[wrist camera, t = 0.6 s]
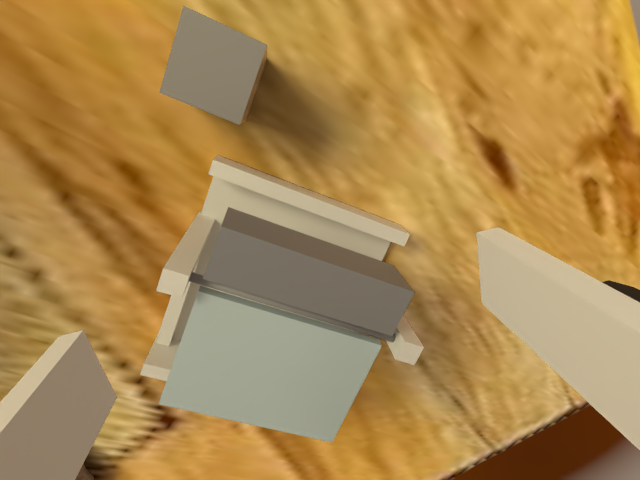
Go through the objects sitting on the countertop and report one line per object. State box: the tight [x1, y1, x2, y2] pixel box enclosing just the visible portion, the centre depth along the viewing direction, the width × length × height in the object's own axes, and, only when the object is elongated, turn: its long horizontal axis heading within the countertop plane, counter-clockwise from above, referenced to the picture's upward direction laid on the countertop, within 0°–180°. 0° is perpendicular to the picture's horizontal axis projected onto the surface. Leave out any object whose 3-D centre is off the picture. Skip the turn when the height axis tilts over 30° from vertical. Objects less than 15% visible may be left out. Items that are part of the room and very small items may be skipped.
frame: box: [140, 155, 424, 381], centre depth 32 cm, size 18×20×12 cm
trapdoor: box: [159, 207, 415, 442], centre depth 28 cm, size 13×14×4 cm
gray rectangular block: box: [160, 6, 267, 125], centre depth 27 cm, size 5×5×8 cm
